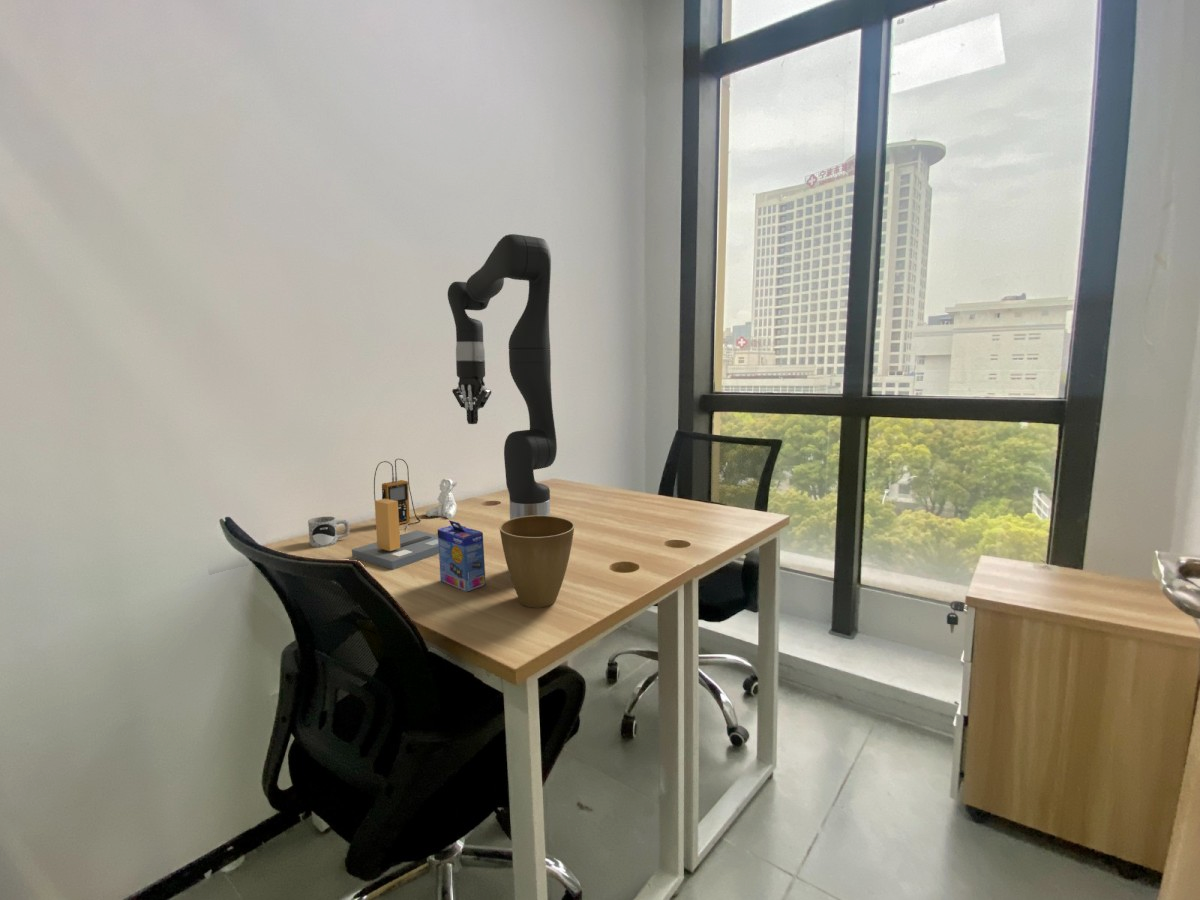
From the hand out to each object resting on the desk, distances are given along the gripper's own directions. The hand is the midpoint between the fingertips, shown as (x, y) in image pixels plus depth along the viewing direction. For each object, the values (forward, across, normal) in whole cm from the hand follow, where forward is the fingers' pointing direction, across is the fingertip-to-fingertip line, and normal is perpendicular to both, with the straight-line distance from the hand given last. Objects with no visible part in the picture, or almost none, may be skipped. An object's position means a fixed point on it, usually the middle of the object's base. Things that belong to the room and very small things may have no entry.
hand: (472, 423), depth 152 cm
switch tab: (+29, -6, -24) cm, 38 cm away
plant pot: (+32, +42, -24) cm, 58 cm away
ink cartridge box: (+32, +22, -26) cm, 47 cm away
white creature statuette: (+32, -26, +12) cm, 43 cm away
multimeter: (+32, -26, -4) cm, 42 cm away
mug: (+32, -30, -25) cm, 51 cm away
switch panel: (+32, -6, -19) cm, 38 cm away
